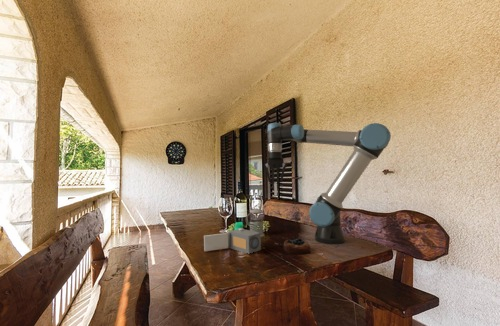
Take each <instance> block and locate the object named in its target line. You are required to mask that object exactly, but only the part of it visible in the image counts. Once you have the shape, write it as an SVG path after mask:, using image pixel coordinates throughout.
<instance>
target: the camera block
mask: <svg viewBox="0 0 500 326" xmlns="http://www.w3.org/2000/svg"><path fill="white" fill-rule="evenodd" d="M228 233H230V248H229V249H232V250H235V251H238V252H242V253H245V254H247V253H248V255H251V254H253V252H254V253H256V252H258V251H261V250H262V242H261V241H262V240H261V238H262V237H261V233H259V232H254V231H250V229H245V228H244V227H243V228H239V229H237V230H234V229H233V230H232V229H231V230H229V231H228ZM250 253H251V254H250Z"/></svg>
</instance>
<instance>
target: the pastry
mask: <svg viewBox="0 0 500 326" xmlns="http://www.w3.org/2000/svg"><path fill="white" fill-rule="evenodd" d="M282 249H283V251H284V252H285V253H286V254H288V255H306V254H311V246H310V244H309V243H308V242H307V241H305V240H304V239H302V238H296V239H293V240H292V239H290V238H288V239H286V240H285V241H284V242H283V248H282Z"/></svg>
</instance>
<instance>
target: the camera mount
mask: <svg viewBox="0 0 500 326" xmlns="http://www.w3.org/2000/svg"><path fill="white" fill-rule="evenodd" d="M239 228H243V229H244V224H243V222H242V221H239V222H235V224H234V229H233V230H237V229H239Z"/></svg>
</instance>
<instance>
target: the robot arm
mask: <svg viewBox="0 0 500 326" xmlns="http://www.w3.org/2000/svg"><path fill="white" fill-rule="evenodd" d="M391 137H392V136H391V131H390V130H389V128H388V127H387V126H386V125H384V124H382V123H379V122H373V123H369V124H367V125H365V126H364V127H363V128H362V129H359V130H358V131H343V130H327V129H325V130H322V129H304V126H303V125H302V124H293V125H291V124H290V125H284V126H283V125H282V124H281V123H279V122H272V123H268V125H267V162H266V163H265V164H263V167H264V169H265V172H266V176H267V180H268V183H271V190H273V191H274V192H273V193H274V194H273V196H275V197H276V196H278V190H279V189H280V183H283V180H284V174H285V170H286V168H287V166H288V165H287V164H286V163H284V161H283V153H282V151H283V149H282V148H283V145H282V144H283V143H282V141H294V142H296V143H297V144H302V143H306V144H318V145H331V146H343V147H353V152H352V153H351V154H350V156H349V157H348V159H347V161H346V162H345V164H344V165H343V166H342V167H341V169H340V171H339V172H338V174H337V176H336V177H335V178H334V180H333V182H331V184H330V186H329V187H328V189H327V190H326V192H322V193H321V194H320V195H319V196H317V198H316V200H315V202H314V203H313V204H311V206H310V207H309V211H308V214H309V219H310V221H312V223H313V224H314V225H316V226H317V227H316V230H315V233H314V240H315V241H316V242H318V243H323V244H330V245H332V244H333V245H335V244H336V245H337V244H343V243H344V242H345V235H344V232H343V229H342V227H341V226H342V225H341V211H342V209H343V208H344V207H343V202H344V200H345V199H346V198H347V196H348V195H349V193H350V192H351V191H352V189H353V188H354V186H355V185H356V184H357V182H358V181H359V179H360V178H361V176H362V175H363V173H364V172H365V170H366V169H367V168H368V166H369V165H370V164H371V162H372V161H373V160H376V159H378V158H379V157H380V155H381V154H382V152H383V151H384V150H385V149H386V148H387V147H388V145H389V143H390V140H391ZM281 166H282V170H281V175H280V168H281ZM269 167H270V169H271V176H270V173H269V169H268V168H269ZM275 170H276V182H275Z"/></svg>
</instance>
